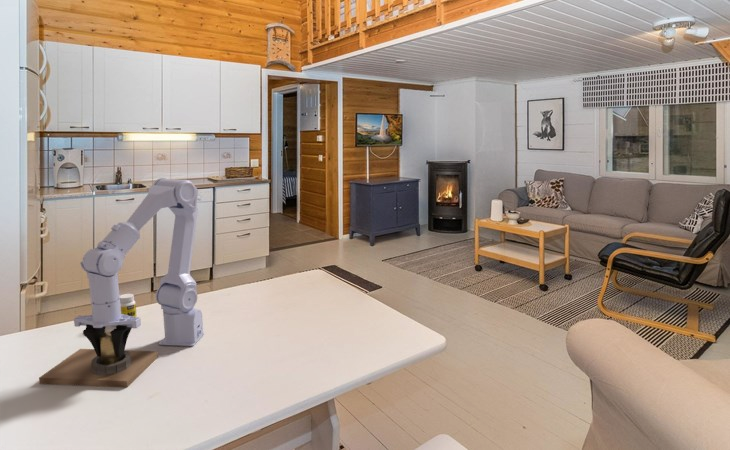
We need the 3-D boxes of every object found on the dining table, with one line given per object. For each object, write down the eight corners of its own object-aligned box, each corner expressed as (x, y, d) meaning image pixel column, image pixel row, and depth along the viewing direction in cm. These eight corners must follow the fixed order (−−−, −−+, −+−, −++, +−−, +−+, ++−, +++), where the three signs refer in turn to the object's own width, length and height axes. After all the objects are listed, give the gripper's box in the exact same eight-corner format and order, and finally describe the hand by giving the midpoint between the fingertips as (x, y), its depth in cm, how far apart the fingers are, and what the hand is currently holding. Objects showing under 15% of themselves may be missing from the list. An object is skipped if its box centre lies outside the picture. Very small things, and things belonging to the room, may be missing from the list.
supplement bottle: (129, 326, 131) (127, 299, 129) (115, 325, 131) (112, 297, 130) (140, 320, 135) (138, 293, 134) (126, 318, 136) (124, 292, 134)
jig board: (158, 356, 113) (157, 344, 112) (127, 387, 99) (126, 372, 99) (80, 354, 114) (79, 341, 113) (39, 383, 100) (37, 369, 99)
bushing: (124, 358, 107) (122, 331, 106) (115, 366, 103) (112, 338, 102) (107, 358, 107) (105, 330, 106) (98, 366, 103) (95, 338, 102)
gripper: (62, 305, 98) (68, 362, 101) (127, 307, 98) (132, 364, 100) (83, 294, 105) (88, 347, 108) (143, 296, 105) (147, 349, 107)
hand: (110, 354), depth 105 cm, fingers closed on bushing, 4 cm apart
